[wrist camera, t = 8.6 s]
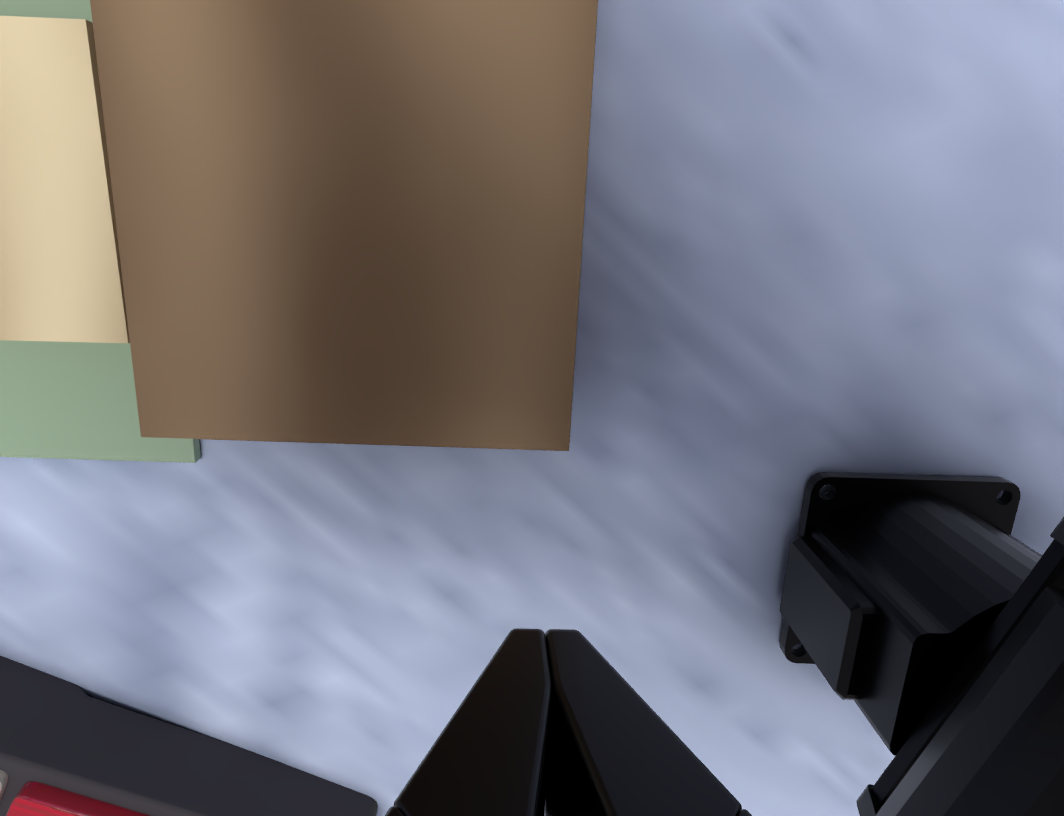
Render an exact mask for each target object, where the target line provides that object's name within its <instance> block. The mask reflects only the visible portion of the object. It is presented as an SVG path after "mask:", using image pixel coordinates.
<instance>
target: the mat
mask: <svg viewBox="0 0 1064 816" xmlns="http://www.w3.org/2000/svg"><path fill="white" fill-rule="evenodd" d="M0 16H20V17H43V18H66V19H86V20H88V21H90V22H92V14H91V5H90V0H0ZM92 23H93V22H92ZM0 457H25V458H58V459H91V460H123V461H156V462H188V463H195V462H197V461H198V460H199V459H200V458H201V453H200V442H199V439H183V438H152V437H141V433H140V425H139V416H138V408H137V399H136V390H135V382H134V373H133V365H132V356H131V348H130V343H91V342H51V341H10V340H0Z"/></svg>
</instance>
